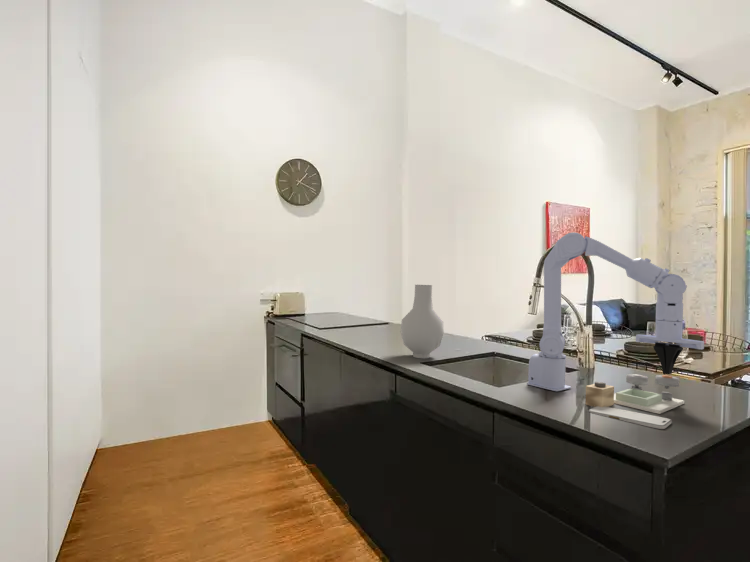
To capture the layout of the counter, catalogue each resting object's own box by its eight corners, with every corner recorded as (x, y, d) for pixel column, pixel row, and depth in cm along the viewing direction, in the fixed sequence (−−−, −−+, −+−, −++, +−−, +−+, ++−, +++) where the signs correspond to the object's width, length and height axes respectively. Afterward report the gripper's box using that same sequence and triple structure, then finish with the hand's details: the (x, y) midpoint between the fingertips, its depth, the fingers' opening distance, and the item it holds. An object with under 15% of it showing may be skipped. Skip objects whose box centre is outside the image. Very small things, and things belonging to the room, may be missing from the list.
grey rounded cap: (652, 387, 108) (652, 375, 108) (659, 385, 111) (659, 373, 111) (674, 391, 104) (675, 379, 104) (681, 389, 107) (682, 377, 107)
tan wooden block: (585, 404, 103) (586, 382, 103) (597, 401, 107) (597, 379, 107) (602, 408, 100) (602, 386, 100) (613, 404, 104) (614, 383, 104)
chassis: (601, 400, 108) (602, 378, 108) (628, 391, 117) (629, 371, 117) (659, 413, 97) (660, 389, 97) (684, 403, 107) (684, 381, 107)
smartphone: (599, 404, 102) (672, 419, 91) (599, 409, 102) (672, 424, 91) (587, 410, 97) (663, 426, 86) (587, 415, 97) (663, 431, 86)
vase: (424, 352, 175) (426, 284, 175) (451, 358, 161) (454, 285, 161) (391, 354, 165) (393, 283, 165) (417, 362, 152) (420, 284, 152)
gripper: (708, 322, 104) (707, 377, 104) (643, 317, 116) (642, 366, 116) (699, 323, 100) (697, 380, 100) (633, 318, 112) (631, 369, 112)
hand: (667, 373), depth 108 cm, fingers closed
